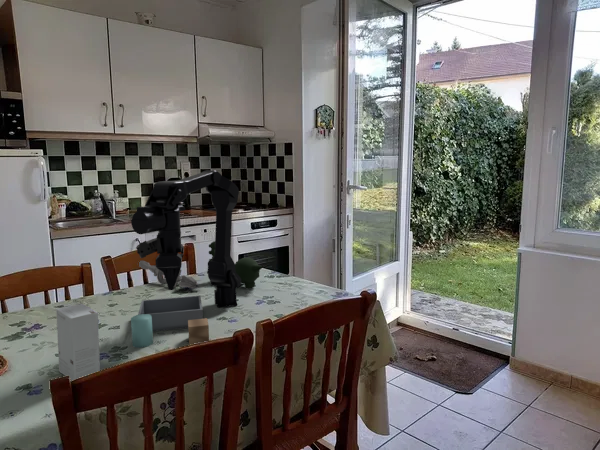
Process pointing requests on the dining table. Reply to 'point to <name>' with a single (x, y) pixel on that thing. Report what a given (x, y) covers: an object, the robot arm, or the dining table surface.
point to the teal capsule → (142, 330)
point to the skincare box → (78, 340)
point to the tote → (172, 312)
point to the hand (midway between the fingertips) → (172, 285)
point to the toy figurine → (243, 269)
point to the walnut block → (198, 330)
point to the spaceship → (184, 280)
